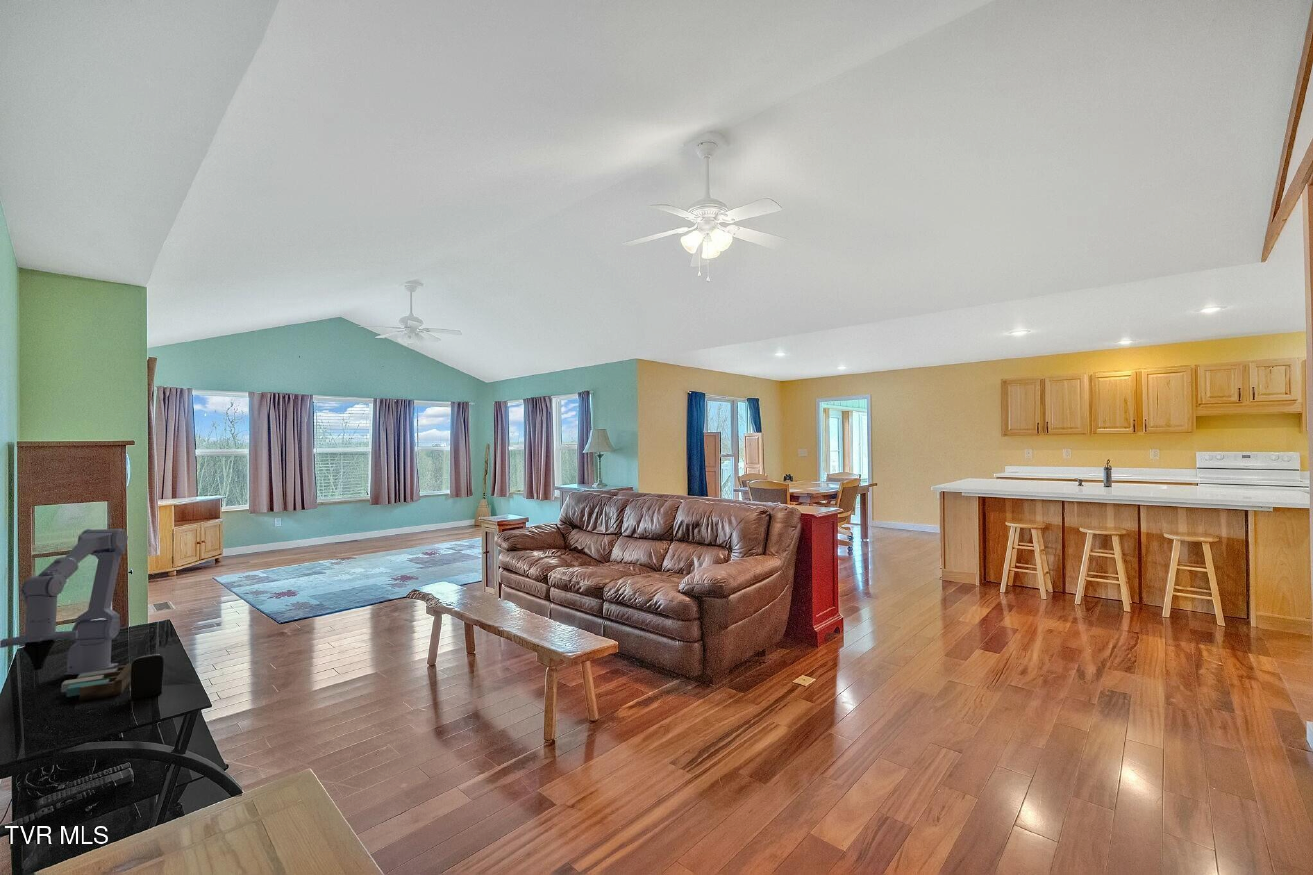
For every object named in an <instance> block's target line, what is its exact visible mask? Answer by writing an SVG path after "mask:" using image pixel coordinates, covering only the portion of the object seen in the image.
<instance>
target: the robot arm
mask: <svg viewBox="0 0 1313 875" xmlns="http://www.w3.org/2000/svg"><path fill="white" fill-rule="evenodd" d="M128 538H129V536H128V533H126V531H125V529H124V528H112V529H110V528H107V529H105V528H102V529H99V528H98V529H97V528H96V529H91V528H86V529H85V530H83V531H82V532H81V533H80V534H79V535H78V537H77V543H76V544H75V546H73V548H72V549H71V550H70V551H69V552H68V553H67V554H66V555H65V556H64V557H63V556H62V557H58V558H56V559H54V561H52V562H51V563H50V564H49V565H48V566H47V567H45V569H43V570H42V571H41V572H40V573H39V574H38V575H35V576H32V577H30V578H28V579H26V580H25V581H24V583H23V584H22V587H21V588H20V594H21V596H22V597H23V603H24V604H25V605H26V612H25V614H26V615H25V633H24V635H22V636H21V635H20V636H13V637H8V638H7V637H6V638H3V639H1V640H0V649H2V648H3V649H4V648H7V647H13V646H21V645H22V646H23V645H24V646H23V647H22V648H23V651H24V652H25V653H26V654H27V655H28V657H29V659H30V661H31V664H32V667H33V671H39V670H42V669H43V668H44V665H45V663H46V660H47V657H48V655H49V653H50V651H51V649H52V647H54V645H55V643H56V641H63V640H72V641H74V642H75V643H74V644H72V645H71V646H70V647H69V649H68V652H67V657H66V658H67V662H66V663H67V664H66V671H65V672H64V673H63V675H80V674H81V673H88V672H94V671H95V670H97V669H104V668H110V667H117V666H119V663H117V662H115V663H111V659H112V656H111V655H112V640H114V639H115V638H116V637H117V636H118V634H119V633H120V629H121V623H120V618H121V615H120V614H119V613H118V612H117V611H115V610H114V609H112V602H113V597H114V594H115V593H114V591H115V589H116V588H115V587H116V583H117V577H118V572H119V567H120V562H121V557H122V556H123V555H125V553H126V549H127V545H128ZM90 555H91V556H93V557H95V558H96V559H97V566H96V570H95V575H94V578H93V584H92V588H91V595H90V599H89V603H88V608H87V610H86V611H84V612H83V613H81V614H79V615H78V616H76V620H75V623H74V625H73V627H72V628H71V630H66V631H64V630H63V631H62V630H61V631H56V629H57V611H58V610H57V609H58V608H57V607H58V606H57V605H58V596H59V594H61V593H63V590H64V588H65V585H66V584H67V581H68V579H69V578H70V577H72V575H74V574H75V572H77V570H78V569H79V564H80V562H82V561H83V560H84V559H85V558H87V557H88V556H90Z"/></svg>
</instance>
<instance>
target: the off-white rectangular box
mask: <svg viewBox="0 0 1313 875" xmlns="http://www.w3.org/2000/svg"><path fill="white" fill-rule="evenodd" d="M102 678H104V675H99V676H93V677H86V678H80V679H77V678H75V679H68V680H67V679H66V680H64V681H63V682H61V686H60V687H61V690H60V693H65V692H66V693H67V688H68V687H69V686H70V685H73V684H80V683H85V681H89V680H95V679H102Z"/></svg>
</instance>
